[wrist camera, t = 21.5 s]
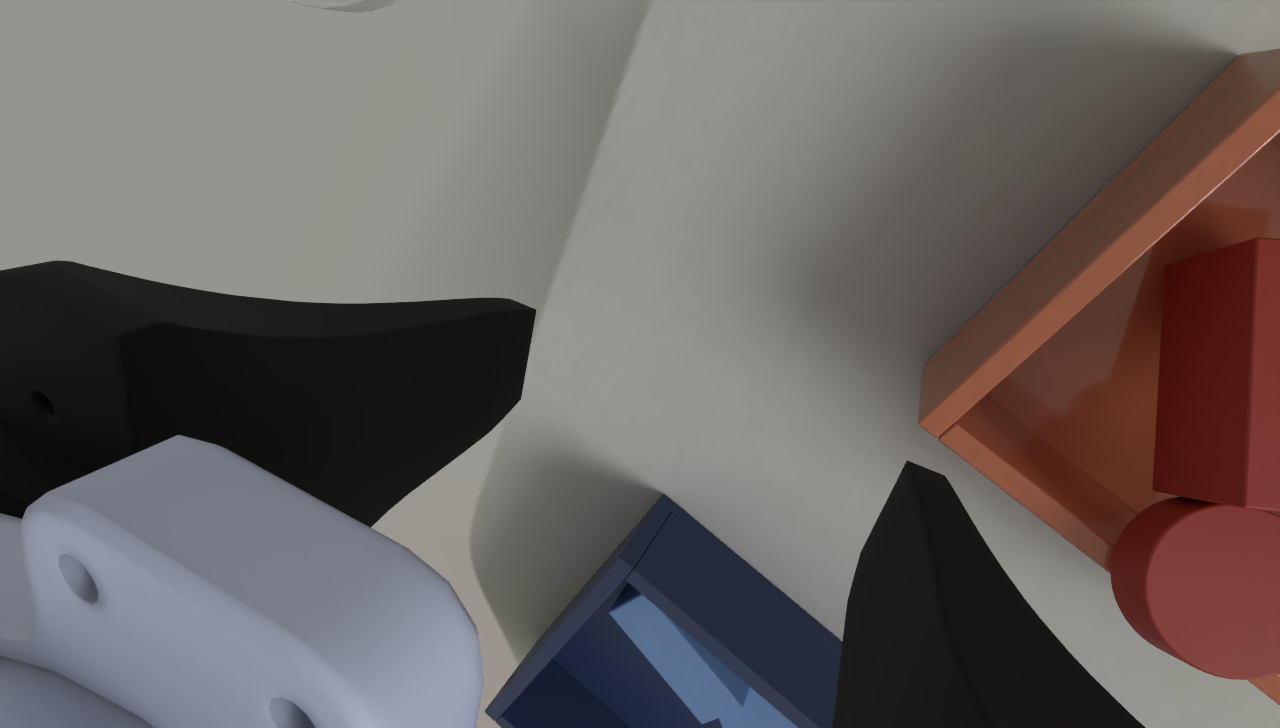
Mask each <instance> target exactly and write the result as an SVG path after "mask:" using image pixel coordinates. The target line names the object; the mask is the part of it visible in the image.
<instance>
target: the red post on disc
mask: <svg viewBox="0 0 1280 728" xmlns="http://www.w3.org/2000/svg"><path fill="white" fill-rule="evenodd" d="M1152 489H1153V490H1154V491H1156V492H1161V493H1166V494H1172V495H1177V496H1178V497H1174V498H1169V499H1165V500H1163V501H1160V502H1157V503H1155V504H1153V505H1151V506H1149V507H1147V508H1146V509H1144V510H1143V511H1141V512H1140V513H1139V514H1137V515H1136V516H1135V517H1134V518H1133V519H1132V520H1131V521H1130V522H1129V523H1128V525H1127V526H1126V527H1125V528H1124V530H1123V531H1122V533H1121V535H1120V536H1119V538H1118V540H1117V543H1116V545H1115V548H1114V551H1113V555H1112V560H1111V583H1112V589H1113V592H1114V596H1115V599H1116V601H1117V604H1118V606H1119V608H1120V610H1121V612H1122V614H1123V615H1124V617H1125V619H1126V620H1127V621H1128V623H1129V624H1130V625H1131V627H1132V628H1133V629H1134V630H1135V631H1136V632H1137V633H1138V634H1139V635H1140V636H1141V637H1142V638H1144V639H1145V640H1146V641H1148V642H1149V643H1150V644H1152V645H1154V646H1155V647H1157V648H1158V649H1160V650H1162V651H1164V652H1166V653H1168V654H1170V655H1172V656H1174V657H1175V658H1177V659H1179V660H1181V661H1183V662H1185V663H1187V664H1189V665H1191V666H1193V667H1194V668H1197V669H1199V670H1201V671H1203V672H1205V673H1208V674H1211V675H1214V676H1218V677H1223V678H1228V679H1240V680H1246V679H1258V678H1263V677H1268V676H1271V675H1274V674H1277V673H1280V516H1278V515H1276V514H1274V513H1272V512H1270V511H1277V512H1280V239H1275V238H1261V237H1257V238H1254V239H1250V240H1247V241H1244V242H1240V243H1237V244H1234V245H1230V246H1227V247H1224V248H1220V249H1217V250H1214V251H1210V252H1207V253H1204V254H1200V255H1197V256H1194V257H1190V258H1187V259H1184V260H1180V261H1177V262H1174V263H1170V264H1167V265H1165V267H1164V284H1163V303H1162V321H1161V340H1160V358H1159V376H1158V395H1157V413H1156V432H1155V450H1154V469H1153V487H1152Z"/></svg>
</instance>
